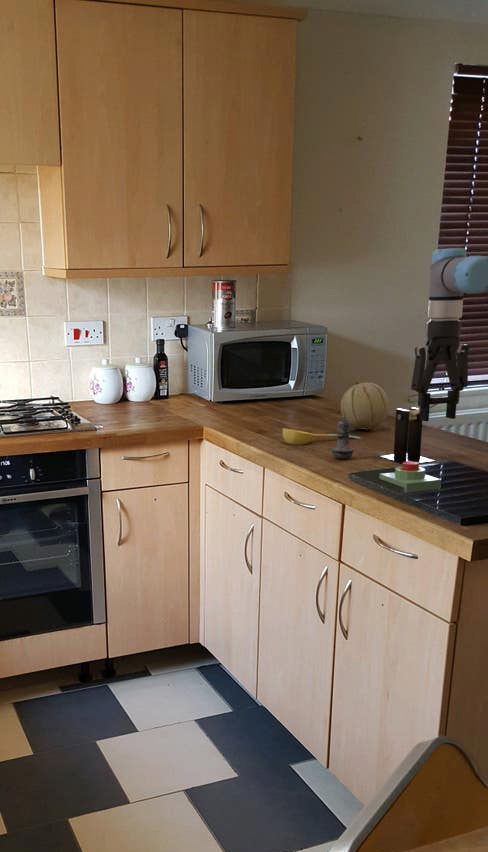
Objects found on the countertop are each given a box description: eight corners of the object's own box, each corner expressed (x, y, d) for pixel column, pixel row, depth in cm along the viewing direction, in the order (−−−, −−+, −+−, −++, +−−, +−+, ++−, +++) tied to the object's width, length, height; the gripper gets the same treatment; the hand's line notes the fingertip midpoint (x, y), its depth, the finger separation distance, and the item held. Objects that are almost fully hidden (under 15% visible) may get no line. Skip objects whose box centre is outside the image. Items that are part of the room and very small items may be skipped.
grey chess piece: (330, 465, 225) (332, 418, 221) (330, 460, 230) (332, 414, 226) (354, 465, 224) (356, 418, 220) (353, 460, 229) (355, 414, 225)
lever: (452, 403, 208) (450, 393, 208) (432, 405, 206) (430, 395, 206) (416, 421, 222) (414, 412, 222) (397, 423, 221) (396, 414, 221)
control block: (440, 489, 196) (441, 471, 195) (406, 493, 194) (407, 475, 192) (412, 479, 206) (413, 462, 205) (378, 483, 204) (379, 466, 202)
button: (421, 471, 198) (422, 463, 197) (408, 472, 197) (408, 465, 196) (412, 468, 201) (412, 460, 200) (398, 469, 200) (399, 462, 199)
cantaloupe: (389, 433, 266) (391, 383, 261) (340, 433, 269) (341, 384, 264) (386, 425, 280) (388, 378, 275) (339, 425, 283) (341, 378, 278)
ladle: (274, 442, 252) (278, 422, 251) (354, 456, 261) (359, 436, 259) (287, 446, 244) (291, 425, 243) (369, 460, 252) (374, 440, 251)
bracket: (435, 466, 220) (439, 410, 216) (404, 469, 217) (408, 413, 213) (407, 457, 231) (411, 405, 226) (378, 460, 228) (381, 407, 224)
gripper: (469, 317, 209) (461, 414, 216) (398, 320, 203) (392, 420, 210) (490, 318, 202) (481, 418, 209) (417, 321, 196) (411, 424, 203)
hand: (437, 419), depth 210 cm, fingers open, 7 cm apart
